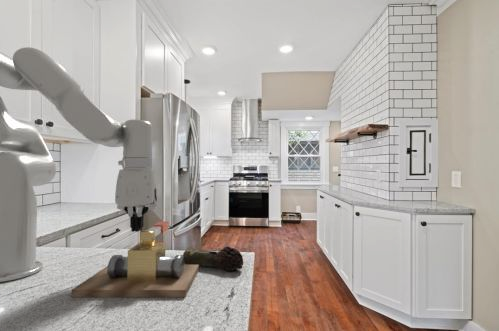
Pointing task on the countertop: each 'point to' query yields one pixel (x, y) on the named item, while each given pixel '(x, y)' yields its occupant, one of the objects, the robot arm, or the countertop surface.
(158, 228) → the valve lever
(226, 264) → the olive brown elongated lump
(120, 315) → the countertop surface
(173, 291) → the mounting board
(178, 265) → the pipe and valve
